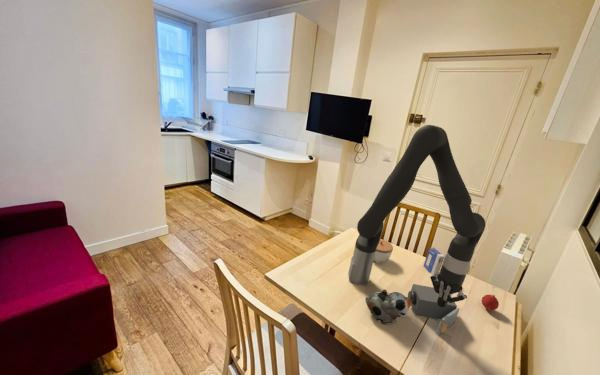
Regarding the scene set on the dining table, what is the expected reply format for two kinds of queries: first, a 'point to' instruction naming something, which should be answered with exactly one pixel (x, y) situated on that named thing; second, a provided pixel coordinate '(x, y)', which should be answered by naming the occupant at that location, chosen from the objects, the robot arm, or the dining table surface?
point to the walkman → (433, 261)
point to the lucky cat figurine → (388, 306)
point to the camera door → (447, 321)
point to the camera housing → (428, 303)
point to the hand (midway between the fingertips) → (441, 305)
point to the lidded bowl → (383, 251)
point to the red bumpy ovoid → (490, 302)
